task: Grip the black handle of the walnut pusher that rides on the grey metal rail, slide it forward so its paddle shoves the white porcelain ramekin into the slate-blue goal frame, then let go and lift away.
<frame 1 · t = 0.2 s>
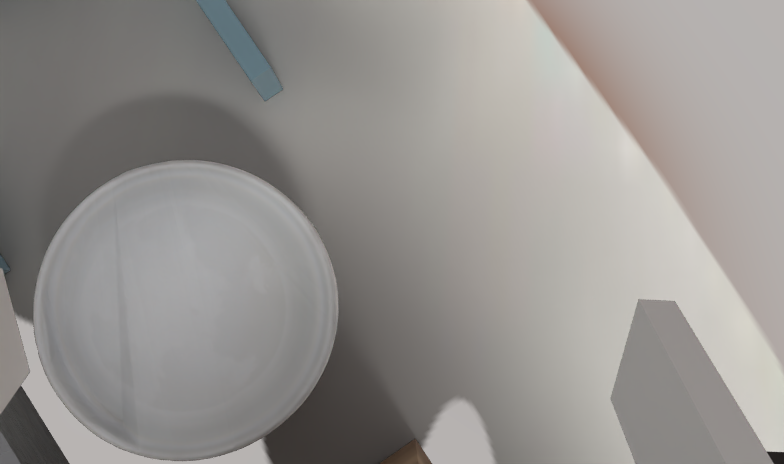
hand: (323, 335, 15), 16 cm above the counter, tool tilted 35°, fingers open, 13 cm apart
goal frame: (68, 76, 31), on the counter
ramekin: (220, 304, 30), on the counter
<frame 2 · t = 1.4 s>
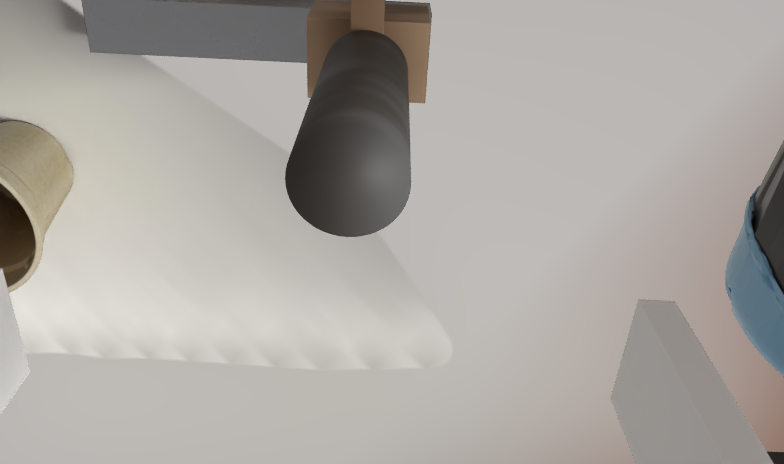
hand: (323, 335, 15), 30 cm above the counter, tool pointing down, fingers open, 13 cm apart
flower pot: (29, 164, 45), on the counter
rail: (267, 21, 40), on the counter
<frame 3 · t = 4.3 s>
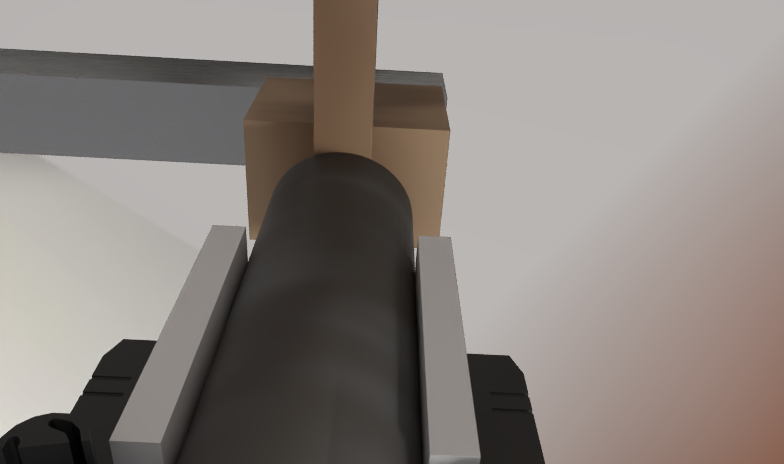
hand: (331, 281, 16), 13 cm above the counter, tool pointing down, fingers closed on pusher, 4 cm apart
rail: (200, 97, 27), on the counter
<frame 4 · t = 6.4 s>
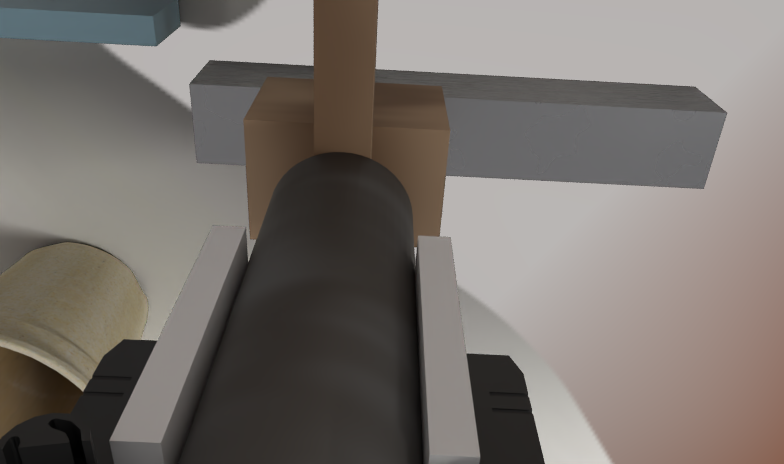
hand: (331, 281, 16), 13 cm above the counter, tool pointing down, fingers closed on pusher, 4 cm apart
flower pot: (85, 295, 32), on the counter
rail: (450, 110, 27), on the counter
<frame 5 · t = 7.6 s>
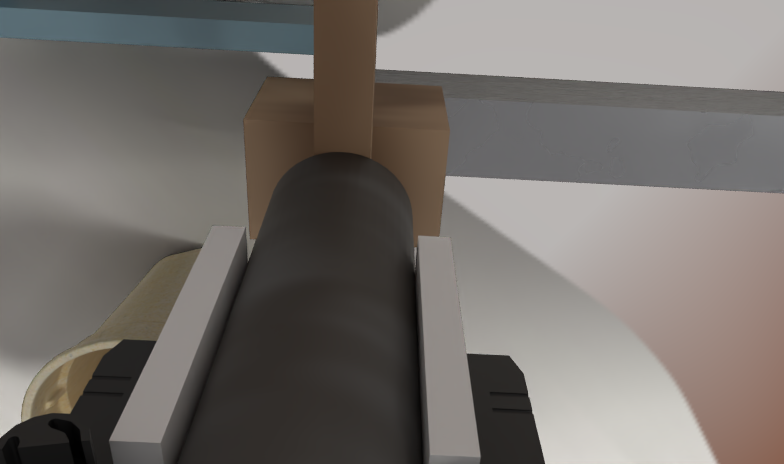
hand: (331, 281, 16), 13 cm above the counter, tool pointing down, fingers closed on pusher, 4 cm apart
flower pot: (211, 301, 32), on the counter
rail: (597, 118, 28), on the counter
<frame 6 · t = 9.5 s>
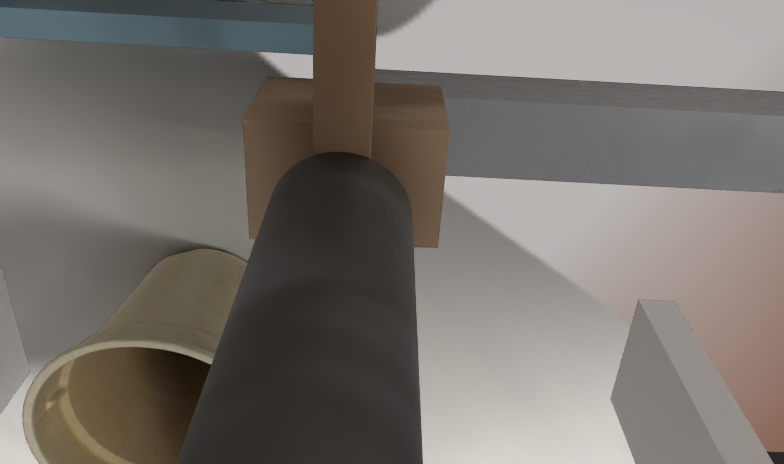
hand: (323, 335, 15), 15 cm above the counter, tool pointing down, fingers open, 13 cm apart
flower pot: (212, 301, 32), on the counter
rail: (598, 118, 28), on the counter
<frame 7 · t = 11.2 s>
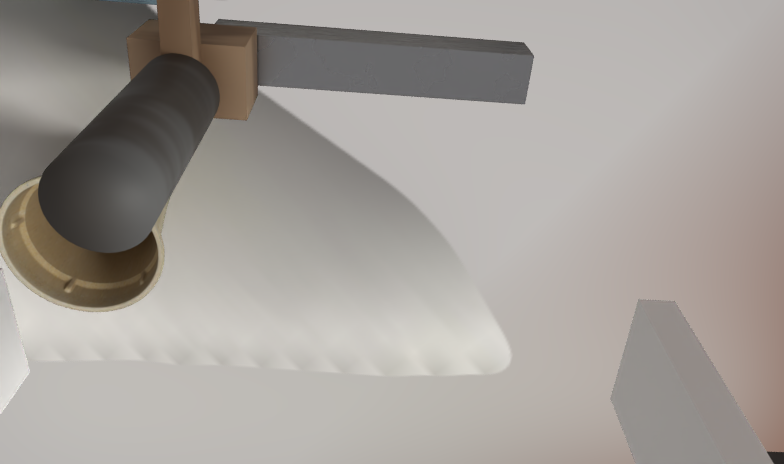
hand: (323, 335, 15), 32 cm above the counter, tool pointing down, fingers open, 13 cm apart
flower pot: (127, 181, 47), on the counter
rail: (371, 54, 43), on the counter
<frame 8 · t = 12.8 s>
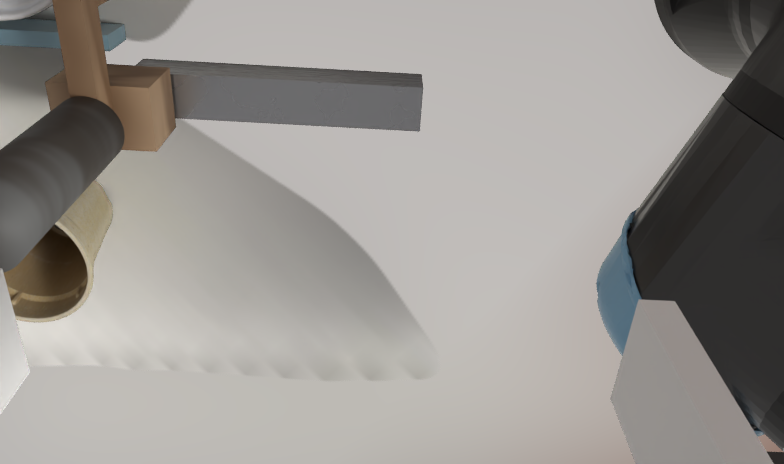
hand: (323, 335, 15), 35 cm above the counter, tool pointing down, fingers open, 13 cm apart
pusher: (57, 24, 35), point 11 cm above the counter, slide at 16.0 cm
flower pot: (73, 203, 52), on the counter
rail: (283, 87, 48), on the counter
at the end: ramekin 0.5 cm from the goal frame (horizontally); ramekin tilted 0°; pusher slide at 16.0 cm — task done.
